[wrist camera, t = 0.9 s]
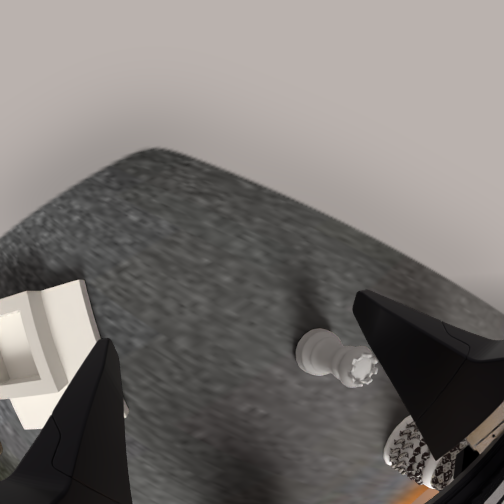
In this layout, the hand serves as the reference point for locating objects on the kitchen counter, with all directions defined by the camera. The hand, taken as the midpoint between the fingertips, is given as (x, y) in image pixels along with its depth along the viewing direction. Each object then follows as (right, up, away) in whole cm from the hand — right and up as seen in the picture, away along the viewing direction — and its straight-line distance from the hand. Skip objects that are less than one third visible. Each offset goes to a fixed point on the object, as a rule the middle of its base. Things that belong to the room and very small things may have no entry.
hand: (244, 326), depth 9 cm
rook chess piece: (+6, -7, +16) cm, 19 cm away
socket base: (-18, -7, +10) cm, 21 cm away
